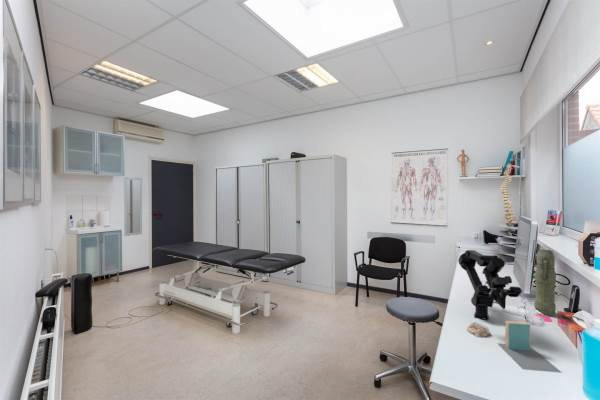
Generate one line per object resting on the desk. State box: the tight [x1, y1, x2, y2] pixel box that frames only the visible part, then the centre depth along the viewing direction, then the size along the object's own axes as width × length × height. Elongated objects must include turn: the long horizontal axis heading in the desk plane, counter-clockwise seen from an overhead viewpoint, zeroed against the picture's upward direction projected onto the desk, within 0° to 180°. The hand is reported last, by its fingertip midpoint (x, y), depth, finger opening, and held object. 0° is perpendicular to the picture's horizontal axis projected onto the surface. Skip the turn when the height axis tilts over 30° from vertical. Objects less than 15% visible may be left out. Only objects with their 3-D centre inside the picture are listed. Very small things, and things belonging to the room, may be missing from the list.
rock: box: [465, 321, 491, 338], centre depth 138 cm, size 11×8×6 cm
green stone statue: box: [534, 249, 557, 317], centre depth 160 cm, size 9×12×35 cm
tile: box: [504, 320, 531, 350], centre depth 123 cm, size 2×8×11 cm, turn 81°
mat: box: [496, 342, 562, 373], centre depth 117 cm, size 19×13×1 cm
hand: (504, 308), depth 133 cm, fingers closed
